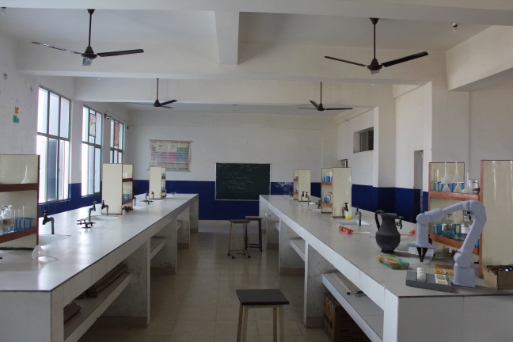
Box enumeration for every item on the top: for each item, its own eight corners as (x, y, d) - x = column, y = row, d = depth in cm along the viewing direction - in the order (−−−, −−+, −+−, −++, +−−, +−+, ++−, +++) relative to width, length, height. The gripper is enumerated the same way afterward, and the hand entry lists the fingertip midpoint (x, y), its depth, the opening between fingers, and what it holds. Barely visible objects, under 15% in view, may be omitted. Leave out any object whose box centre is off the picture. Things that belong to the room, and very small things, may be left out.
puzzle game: (390, 261, 209) (376, 254, 229) (390, 269, 209) (376, 261, 229) (409, 261, 210) (393, 254, 230) (409, 269, 210) (393, 261, 230)
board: (448, 281, 186) (448, 274, 187) (451, 292, 168) (451, 284, 168) (406, 275, 195) (407, 269, 195) (405, 285, 177) (405, 278, 177)
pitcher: (388, 255, 245) (389, 212, 246) (366, 249, 264) (367, 209, 264) (405, 253, 254) (406, 212, 254) (382, 248, 272) (383, 209, 272)
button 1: (425, 275, 190) (425, 268, 190) (425, 277, 186) (425, 269, 186) (416, 274, 191) (417, 267, 191) (416, 276, 188) (417, 268, 188)
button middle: (425, 278, 184) (425, 270, 184) (425, 280, 180) (425, 272, 180) (416, 277, 185) (417, 269, 186) (416, 279, 182) (417, 271, 182)
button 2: (425, 281, 178) (425, 273, 178) (425, 283, 174) (425, 275, 174) (416, 280, 180) (417, 272, 180) (416, 282, 176) (417, 274, 176)
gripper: (407, 235, 188) (406, 261, 188) (438, 238, 182) (437, 265, 182) (407, 234, 195) (407, 258, 194) (437, 236, 189) (436, 262, 188)
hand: (421, 261), depth 189 cm, fingers closed
